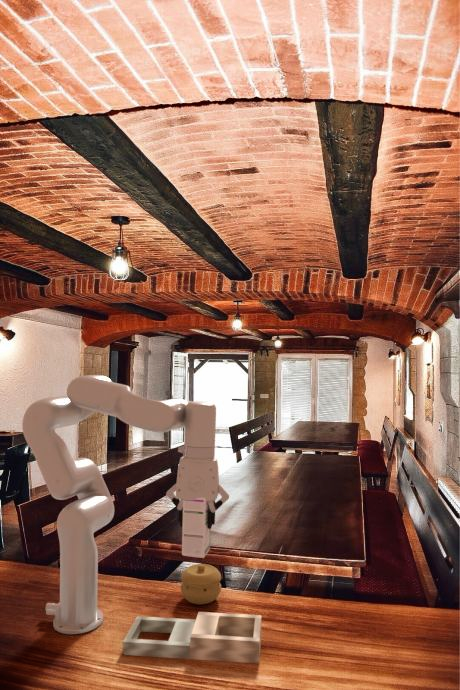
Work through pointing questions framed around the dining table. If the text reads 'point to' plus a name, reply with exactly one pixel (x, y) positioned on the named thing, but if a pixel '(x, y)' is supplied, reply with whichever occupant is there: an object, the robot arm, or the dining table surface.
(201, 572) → the beige rounded piece
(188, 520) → the syrup box
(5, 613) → the dining table surface
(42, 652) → the dining table surface
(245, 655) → the rack
